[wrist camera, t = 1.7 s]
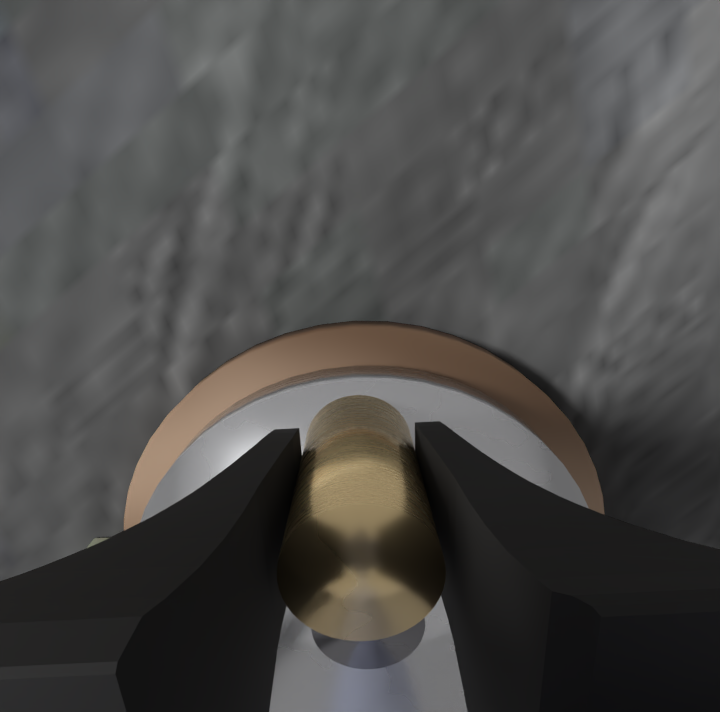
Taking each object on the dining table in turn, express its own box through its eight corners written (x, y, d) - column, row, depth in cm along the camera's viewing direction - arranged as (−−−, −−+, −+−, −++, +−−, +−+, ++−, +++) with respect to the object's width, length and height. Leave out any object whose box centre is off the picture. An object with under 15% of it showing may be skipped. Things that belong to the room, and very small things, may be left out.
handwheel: (559, 707, 16) (664, 955, 11) (189, 725, 16) (105, 981, 11) (603, 353, 12) (814, 460, 6) (107, 377, 12) (-100, 505, 7)
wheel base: (566, 689, 18) (625, 818, 14) (142, 710, 18) (83, 844, 14) (616, 307, 13) (727, 342, 9) (38, 336, 13) (-95, 383, 9)
